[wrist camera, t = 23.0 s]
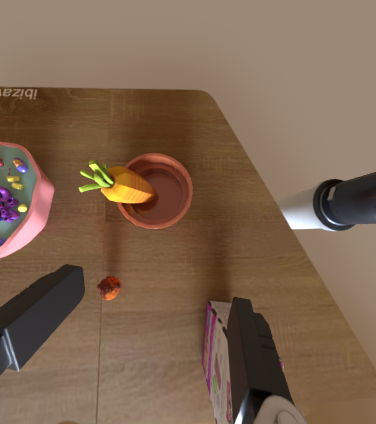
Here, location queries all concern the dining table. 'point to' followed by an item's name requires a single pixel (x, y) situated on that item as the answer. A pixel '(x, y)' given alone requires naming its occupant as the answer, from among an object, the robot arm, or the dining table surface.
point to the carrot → (119, 184)
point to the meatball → (109, 287)
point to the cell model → (21, 198)
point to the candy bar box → (218, 360)
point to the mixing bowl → (160, 191)
